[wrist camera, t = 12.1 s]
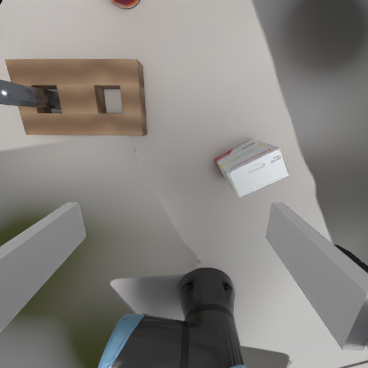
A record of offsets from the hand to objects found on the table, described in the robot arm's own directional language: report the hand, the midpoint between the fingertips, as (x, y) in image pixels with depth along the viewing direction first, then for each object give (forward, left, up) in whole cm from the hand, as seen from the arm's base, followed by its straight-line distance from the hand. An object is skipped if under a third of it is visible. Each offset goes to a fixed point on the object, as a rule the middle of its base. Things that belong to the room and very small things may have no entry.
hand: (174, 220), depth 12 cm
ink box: (-1, -11, -27) cm, 29 cm away
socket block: (+10, +19, -27) cm, 34 cm away
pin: (+10, +24, -27) cm, 37 cm away
